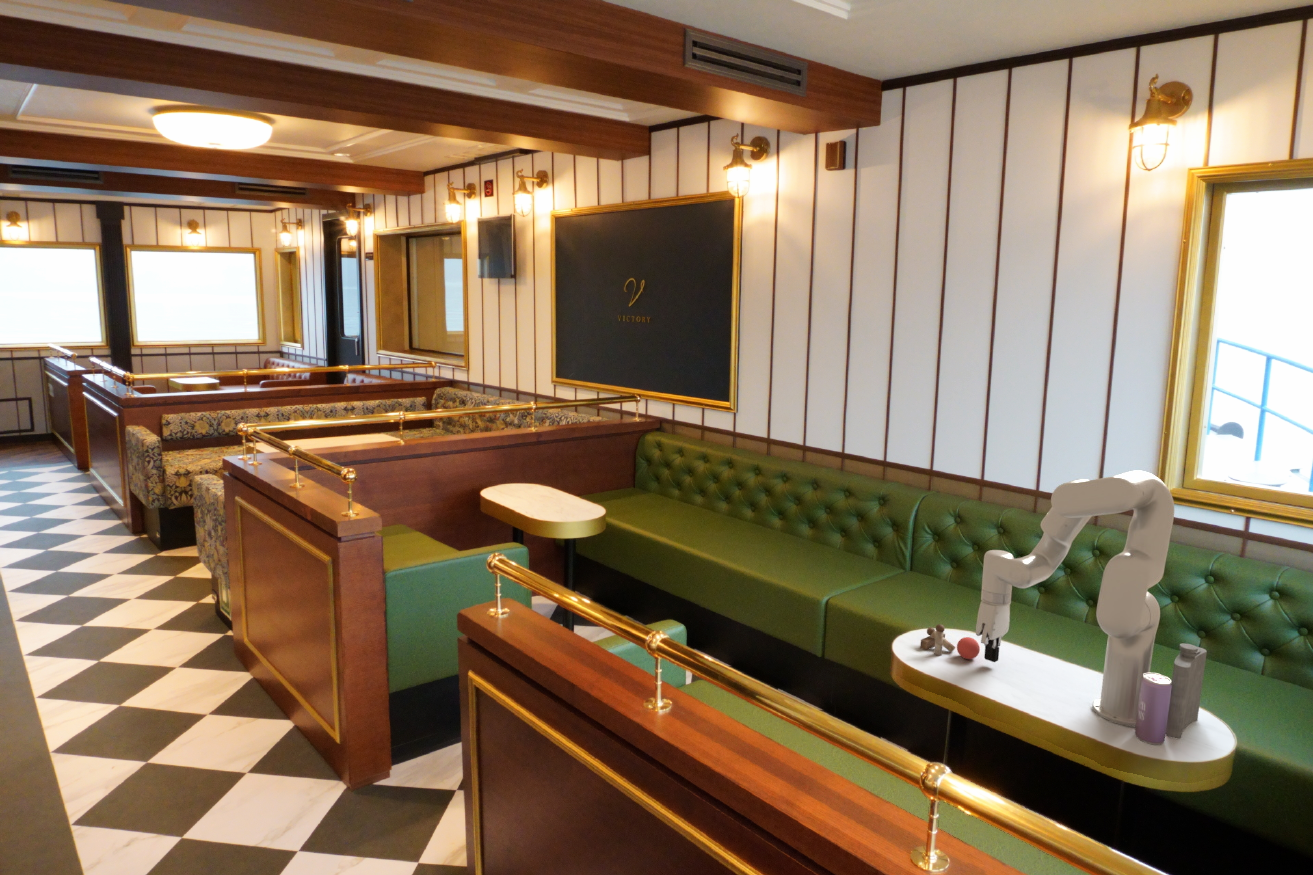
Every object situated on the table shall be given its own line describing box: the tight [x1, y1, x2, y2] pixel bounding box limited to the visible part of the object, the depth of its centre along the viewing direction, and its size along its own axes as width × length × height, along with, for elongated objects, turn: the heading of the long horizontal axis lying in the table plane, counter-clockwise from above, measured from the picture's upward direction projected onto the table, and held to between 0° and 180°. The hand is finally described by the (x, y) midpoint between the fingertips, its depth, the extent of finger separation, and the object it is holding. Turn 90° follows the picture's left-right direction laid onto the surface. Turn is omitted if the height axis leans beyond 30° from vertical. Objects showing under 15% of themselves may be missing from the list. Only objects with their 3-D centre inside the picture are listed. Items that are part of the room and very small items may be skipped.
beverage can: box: [1134, 672, 1172, 746], centre depth 186 cm, size 6×6×15 cm
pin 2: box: [926, 627, 956, 653], centre depth 235 cm, size 2×2×9 cm
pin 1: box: [933, 623, 945, 657], centre depth 231 cm, size 2×2×9 cm
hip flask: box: [1165, 642, 1208, 739], centre depth 193 cm, size 16×4×20 cm, turn 132°
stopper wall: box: [919, 632, 946, 651], centre depth 238 cm, size 2×10×2 cm, turn 130°
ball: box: [956, 636, 981, 660], centre depth 229 cm, size 6×6×6 cm
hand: (991, 659), depth 224 cm, fingers closed
